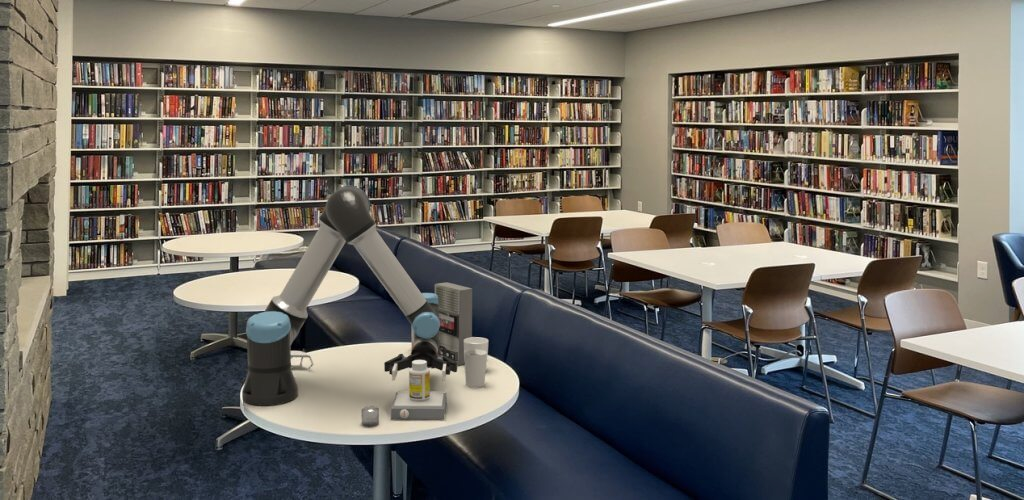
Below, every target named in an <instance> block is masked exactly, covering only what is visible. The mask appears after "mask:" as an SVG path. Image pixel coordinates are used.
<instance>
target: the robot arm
mask: <svg viewBox="0 0 1024 500" xmlns="http://www.w3.org/2000/svg"><path fill="white" fill-rule="evenodd" d="M370 211H371V201H370V199H369V196H368V195H367V193H366V192H365V191H364V190H362V189H361V188H360V187H357V186H353V185H345V186H344V185H343V186H340V187H339V188H337V189H336V190H335V191H334V192H333V193H331V194H330V196H329V197H328V199H327V200H326V204H325V207H324V209H323V210H322V212H321V214H320V216H319V217H318V223H319V228H318V230H317V231H316V232H315V234H314V236H313V238H312V240H311V241H310V243H309V245H308V246H307V248H306V250H305V252H304V254H303V256H302V257H301V259H300V260H299V262H298V263H297V265H296V267H295V269H294V271H293V272H292V274H291V276H290V277H289V279H288V281H287V282H286V284H285V286H284V287H283V290H281V293H280V294H279V295H275V296H273V297H271V300H270V302H269V303H268V304H267V307H266V308H265V310H264V311H263V312H258V313H255V314H253V315H252V316H250V317H249V318H248V319H247V321H246V328H245V334H246V348H247V349H246V351H247V374H246V378H245V381H244V384H243V388H242V389H241V390H242V391H241V392H242V394H241V397H242V401H243V402H244V403H246V404H249V405H253V406H274V405H275V406H276V405H280V404H286V403H288V402H292V401H293V400H295V399H297V398H298V395H299V388H298V387H299V386H298V384H297V382H296V378H295V375H294V374H293V370H292V369H291V367H292V359H291V351H292V350H291V349H292V347H291V346H292V344H293V342H294V341H295V339H297V337H298V335H299V333H300V330H301V328H302V327H303V325H304V323H305V322H306V320H307V319H308V316H309V315H308V311H307V308H308V306H309V305H310V303H311V301H312V300H313V298H314V297H315V295H316V293H317V291H318V290H319V288H320V286H321V284H322V283H323V281H324V279H325V278H326V277H327V274H328V272H329V270H331V268H332V266H333V264H334V262H335V261H336V259H337V257H338V256H339V254H340V252H341V250H342V249H343V247H344V245H345V244H348V245H351V246H352V245H353V247H354V248H355V249H356V251H357V252H358V254H359V255H360V257H362V259H363V260H364V262H365V263H366V264H367V266H368V268H370V270H371V271H372V273H373V274H374V275H375V277H376V278H377V279H378V281H379V282H380V283H381V285H382V286H383V287H384V289H385V290H386V292H388V294H389V296H390V297H391V298H392V300H393V301H394V302H395V304H396V305H397V306H398V308H399V309H400V310H401V312H402V313H403V314H404V316H405V318H406V319H407V321H408V322H409V323H410V324H411V325H412V327H413V330H414V345H413V348H412V347H411V352H410V354H409V355H408V356H405V355H404V354H403V353H399V354H398V355H397V356H395V357H393V358H391V359H389V360H386V361H385V362H384V363H383V364H384V366H383V367H384V369H383V370H384V372H386V373H389V375H391V380H392V382H393V381H394V382H395V381H396V378H397V376H398V372H400V371H402V370H406V369H411V368H412V361H415V360H425V361H427V368H429V369H437V370H439V371H441V374H442V375H441V377H442V378H441V379H442V381H443V382H445V381H446V376H447V375H451V372H453V373H457V372H458V365H457V363H456V362H455V361H453V360H452V359H450V358H449V357H447V355H446V354H443V356H441V357H438V356H437V353H438V348H439V345H440V338H439V327H440V320H439V303H438V296H437V295H436V294H435V293H433V292H421V291H420V289H419V288H418V287H417V284H415V282H414V281H413V279H412V278H411V277H410V275H409V274H408V273H407V271H406V270H405V268H404V267H403V266H402V264H401V263H400V262H399V260H398V258H397V257H396V256H395V255H394V253H393V252H392V250H391V249H390V247H389V246H388V245H387V244H386V242H385V241H384V239H383V237H382V236H381V235H380V234H379V232H378V231H377V230H376V227H377V223H376V222H375V220H374V219H373V217H372V215H371V213H370Z"/></svg>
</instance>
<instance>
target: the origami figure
mask: <svg viewBox="0 0 1024 500" xmlns="http://www.w3.org/2000/svg"><path fill="white" fill-rule="evenodd" d="M293 358H300V363H299V365H300V366H301V367H302V366H303V365H302V364H303V362H304V361H303V359H304V358H309V361H310V366H309V367H308V368H307V372H310V369H311V367H313V366H314V365H315V364H314V360H313V359H312V357H311V355H310V354H308V353H307V352H305V351H302V350H291V360H292V359H293ZM293 368H294V367H293V366H291V370H292V369H293Z"/></svg>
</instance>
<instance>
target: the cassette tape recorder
mask: <svg viewBox="0 0 1024 500" xmlns="http://www.w3.org/2000/svg"><path fill="white" fill-rule="evenodd" d="M434 294H436V295H437V296H438V303H439V320H440V327H439V338H440V345H439V348H438V353H437V356H438V357H441V356H443V354H446V355H447V357H449V358H450V359H452V360H453V361H455V362H456V363H457V367H458V366H459V367H460V366H462V365H465V361H464V339H466V338H471V337H473V288H471V287H467V286H463V285H459V284H456V283H451V282H447V281H446V282H440V283H434Z"/></svg>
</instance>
